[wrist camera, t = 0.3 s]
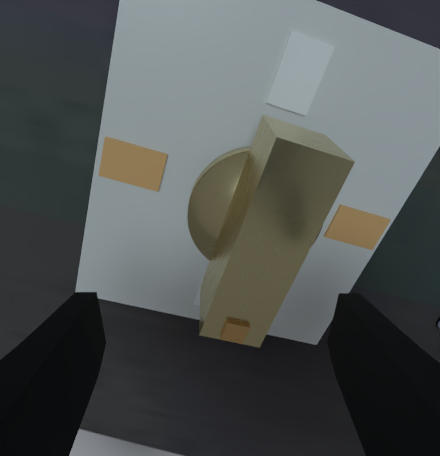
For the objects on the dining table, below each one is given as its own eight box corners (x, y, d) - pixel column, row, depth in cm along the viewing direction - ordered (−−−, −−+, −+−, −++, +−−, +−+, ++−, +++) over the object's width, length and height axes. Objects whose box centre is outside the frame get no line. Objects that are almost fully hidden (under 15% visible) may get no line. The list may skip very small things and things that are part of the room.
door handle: (356, 141, 16) (405, 178, 12) (279, 293, 20) (297, 358, 16) (219, 96, 15) (222, 121, 11) (168, 267, 19) (157, 330, 15)
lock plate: (470, 65, 17) (507, 70, 15) (312, 331, 25) (321, 359, 23) (136, -66, 14) (124, -82, 12) (81, 281, 22) (68, 306, 20)
